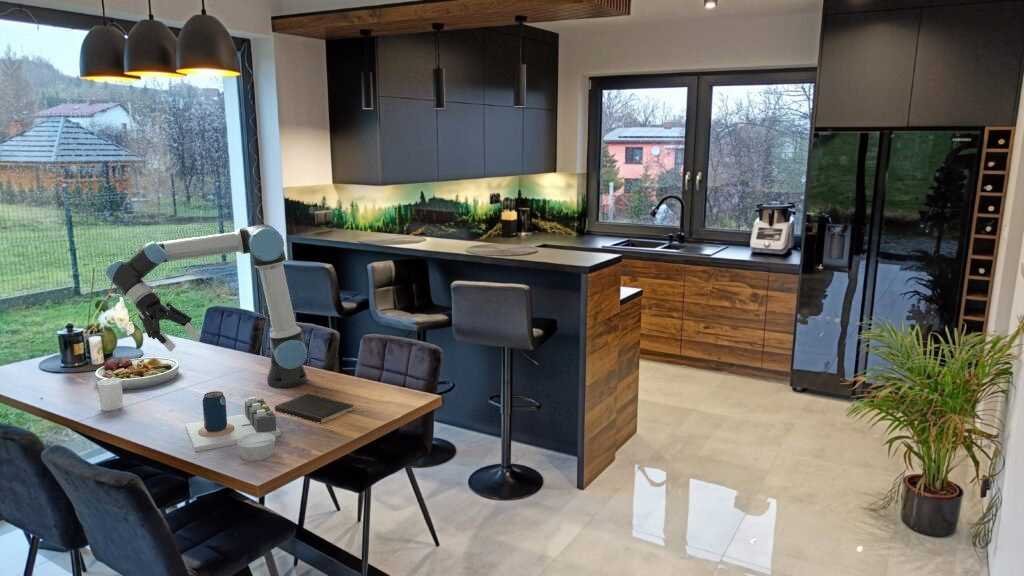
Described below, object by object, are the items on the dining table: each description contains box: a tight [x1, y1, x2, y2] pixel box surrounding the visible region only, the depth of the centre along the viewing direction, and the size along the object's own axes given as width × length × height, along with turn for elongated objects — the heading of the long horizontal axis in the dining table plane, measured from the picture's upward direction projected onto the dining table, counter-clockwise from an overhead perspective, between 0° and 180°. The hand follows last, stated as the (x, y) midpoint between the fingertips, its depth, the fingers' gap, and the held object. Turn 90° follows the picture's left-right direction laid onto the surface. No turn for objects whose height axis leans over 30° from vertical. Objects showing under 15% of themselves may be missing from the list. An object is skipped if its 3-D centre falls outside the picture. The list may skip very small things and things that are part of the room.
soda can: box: [202, 390, 228, 432], centre depth 236 cm, size 7×7×12 cm
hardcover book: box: [274, 393, 354, 424], centre depth 260 cm, size 16×23×2 cm
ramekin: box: [236, 433, 277, 462], centre depth 221 cm, size 11×11×5 cm
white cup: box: [96, 378, 124, 412], centre depth 260 cm, size 8×8×10 cm
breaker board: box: [184, 396, 282, 452], centre depth 239 cm, size 26×22×8 cm
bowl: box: [94, 357, 180, 390], centre depth 292 cm, size 30×30×8 cm
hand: (186, 343), depth 249 cm, fingers open, 13 cm apart
